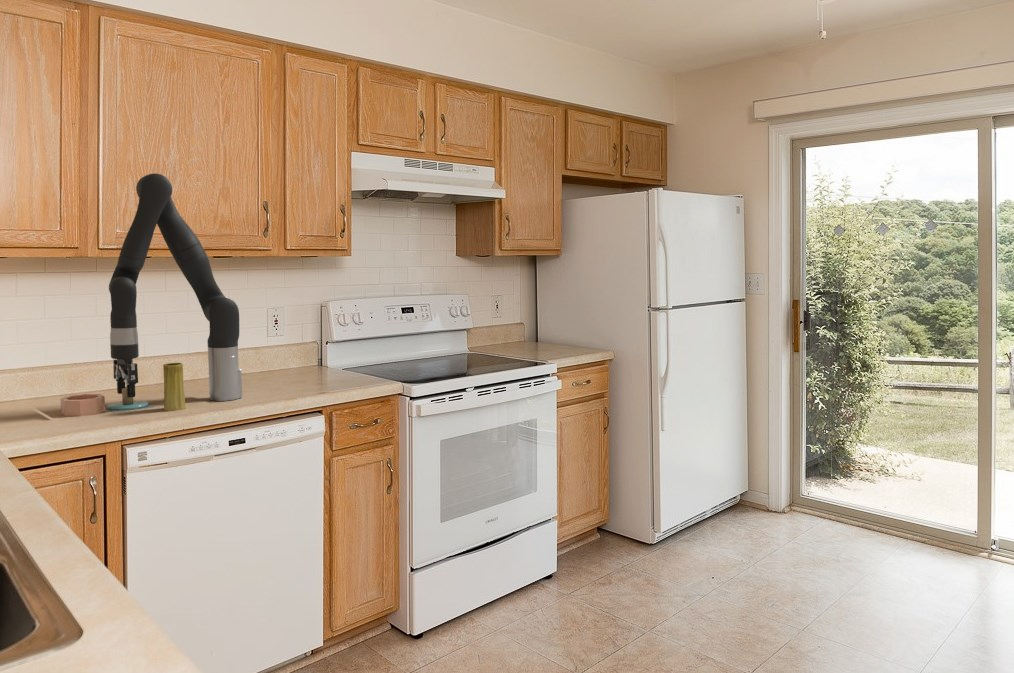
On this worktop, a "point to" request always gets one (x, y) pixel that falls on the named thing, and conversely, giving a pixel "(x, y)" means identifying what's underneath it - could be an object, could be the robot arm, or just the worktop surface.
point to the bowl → (82, 404)
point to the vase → (173, 387)
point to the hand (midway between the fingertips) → (126, 395)
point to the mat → (128, 410)
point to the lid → (127, 403)
